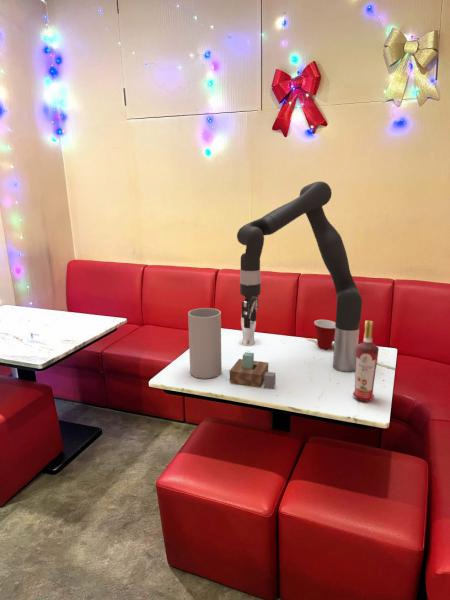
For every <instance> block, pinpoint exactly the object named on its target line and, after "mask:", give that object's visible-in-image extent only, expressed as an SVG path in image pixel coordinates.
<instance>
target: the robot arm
mask: <svg viewBox="0 0 450 600" xmlns="http://www.w3.org/2000/svg"><path fill="white" fill-rule="evenodd" d="M332 193H333V192H332V188H331V187H330V185H329V184H328V183H327V182H324V181H315V182H312V183H310V184H307V185H305V186H304V187H302V188H301V190H300V192H299V196H298V197H296V198H295V199H293V200H291V201H289V202H287V203H285V204H283V205H281V206H279V207H277V208H275V209H274V210H272V211H269V212H268V213H266V214H265V215H264V216H262V217H261V218H258V219H256V220H253V221H250V222H249V223H246V224H244V225H242V226H241V227H240V228H239V229H238V231H237V233H236V240H237V242H238V243H239V244H241V245H243V246H245V252H243V253H242V254H241V256H240V273H239V294H240V295H241V296H243V297H244V300H242V301H241V314H242V318H244V328H250V320H251V321H256V322H257V312H258V309H259V296H260V295H261V292H262V291H261V289H262V288H261V286H262V285H261V284H262V283H261V278H262V277H261V257H262V252H263V248H264V243H265V236H270V235H273V234H274V233H276V232H278V231H279V230H281V229H283V228H284V227H286V226H288V224H290V223H292V222H293V221H295V220H296V219H298V218H299V217H301V216H302V215H306V217H307V220H308V222H309V224H310V227H311V230H312V232H313V235H314V238H315V240H316V244H317V247H318V249H319V252H320V256H321V259H322V261H323V263H324V266H325V267H326V270H327V271H328V273H329V274H330V276H331V279H332V281H333V285H334V288H335V289H334V291H335V295H336V309H335V310H336V311H335V312H336V313H335V314H336V315H335V321H334V322H335V335H334V339H333V357H332V358H333V360H332V368H334V369H335V370H337V371H339V372H347V373H348V372H350V373H351V372H355V371H356V345H358V344H359V336H360V326H361V325H360V324H361V318H362V306H363V299H362V295H361V293H360V290H359V289H358V287H357V285H356V282H355V281H354V278H353V275H352V273H351V270H350V265H349V260H348V254H347V251H346V248H345V245H344V242H343V239H342V237H341V234H340V233H339V231H338V230H337V229H336V228H335V226H333V224H331V222H330V221H329V219H328V218H327V217H326V215H325V211H324V208H323V207H324V206H326V205H327V204H328V203H329V202H330V200H331V199H332V198H331V197H332ZM246 312H247V315H246Z"/></svg>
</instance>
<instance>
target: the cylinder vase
mask: <svg viewBox="0 0 450 600" xmlns="http://www.w3.org/2000/svg"><path fill="white" fill-rule="evenodd" d="M221 314H222V312H221V310H219V309H216V308H213V307H211V308H210V307H203V308H202V307H200V308H195V309H191V310H189V311H188V314H187V315H188V316H187V317H188V318H187V319H188V350H189V373H190V374H191V376H193V377H195V378H197V379H204V380H206V379H212V378H217V377H218V376H219V375H221V373H222V315H221Z"/></svg>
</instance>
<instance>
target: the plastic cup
mask: <svg viewBox="0 0 450 600" xmlns="http://www.w3.org/2000/svg"><path fill="white" fill-rule="evenodd" d="M313 322H314V328H315V334H316V341H317V348H318V349H319V348H320V350H322V349H324V350H325V351H327V350H328V349H329V350H331V349H332V346H333V343H334V339H335V322H336V321H333V320H328V319H317V320H314V321H313ZM329 350H328V351H329Z"/></svg>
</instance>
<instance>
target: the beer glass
mask: <svg viewBox="0 0 450 600" xmlns="http://www.w3.org/2000/svg"><path fill="white" fill-rule="evenodd" d="M246 315H247V312H246ZM240 317H241V318H240V326H241V333H242V341H241V344H242V345H244V346H253V345H255V343H256V340H255V331H256V327H257V320H256V321H251V320H250V328H244V318H242V313H241V315H240Z"/></svg>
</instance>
